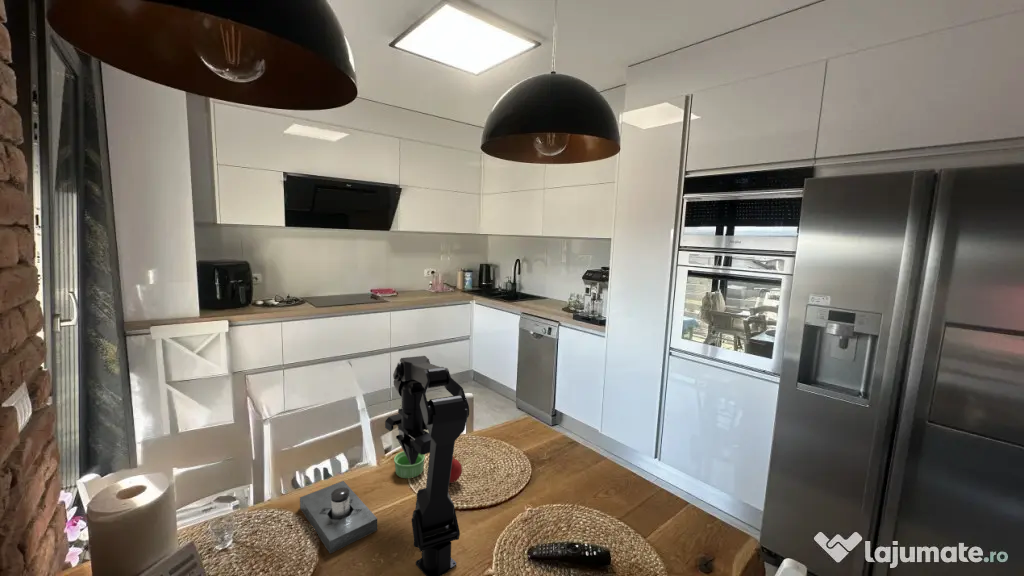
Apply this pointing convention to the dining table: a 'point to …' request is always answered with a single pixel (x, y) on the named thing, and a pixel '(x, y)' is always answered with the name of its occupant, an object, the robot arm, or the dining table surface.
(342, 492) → the metal cylinder peg
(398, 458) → the ramekin
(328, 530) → the jig
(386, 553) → the dining table surface
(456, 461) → the onion
